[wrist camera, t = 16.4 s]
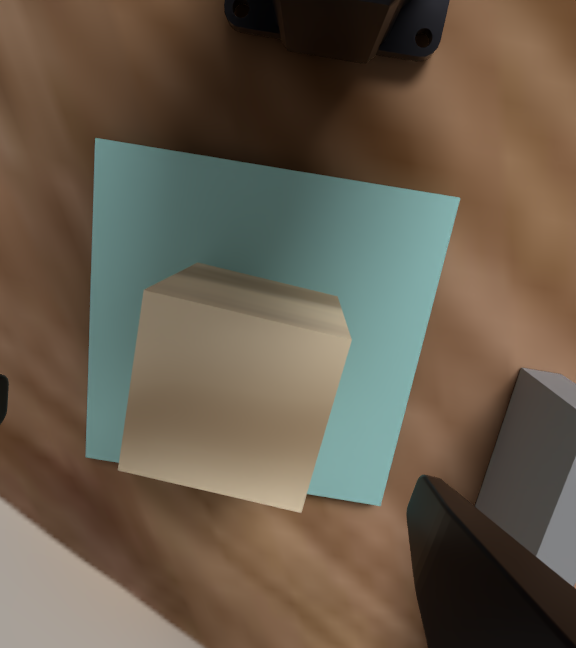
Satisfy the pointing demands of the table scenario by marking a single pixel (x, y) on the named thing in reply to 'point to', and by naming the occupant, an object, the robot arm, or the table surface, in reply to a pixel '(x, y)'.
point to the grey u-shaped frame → (537, 470)
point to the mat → (273, 264)
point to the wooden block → (233, 384)
